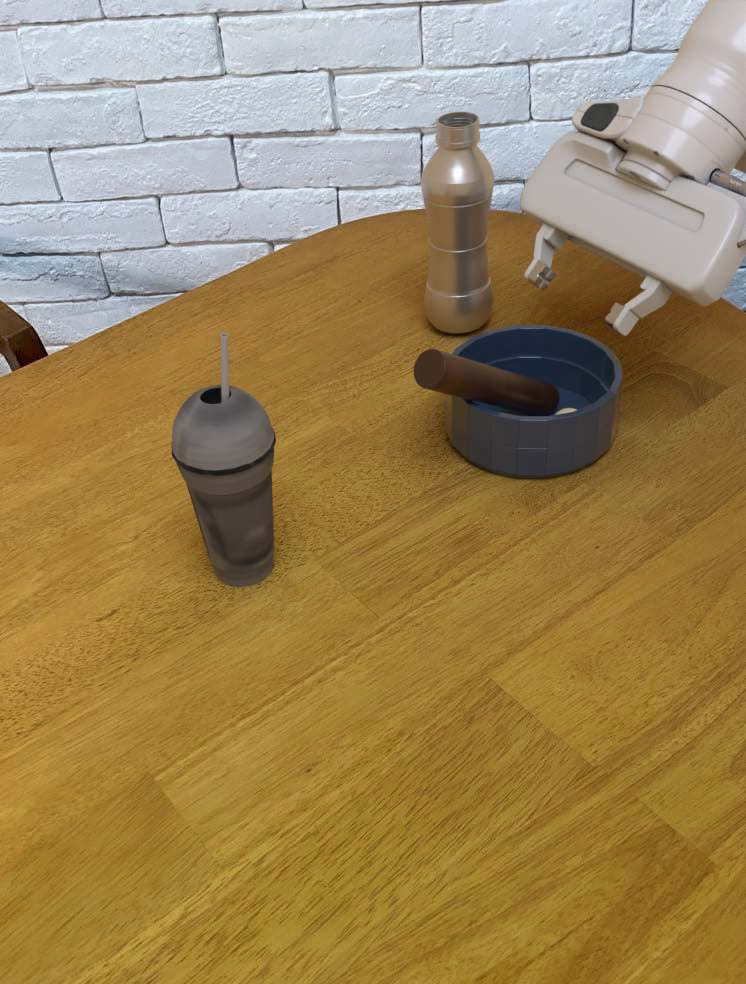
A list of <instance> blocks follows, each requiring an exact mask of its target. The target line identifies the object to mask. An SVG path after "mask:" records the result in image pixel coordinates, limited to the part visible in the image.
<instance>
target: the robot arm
mask: <svg viewBox="0 0 746 984" xmlns="http://www.w3.org/2000/svg"><path fill="white" fill-rule="evenodd" d="M571 124H572V125H573V127H574V128H575V129H576V130H571V131H569V132H567V133H565V134H563V135H561V136H559V138H558V139H557V140H555V142H554V143H553V144H552V145H551V146H550V147H549V149H548V150H547V152H546V153H545V154H544V156H543V157H542V158H541V160H540V161H539V163H538V165H537V166H536V167H535V169H534V170H533V172H532V173H531V175H530V177H528V179H527V181H526V183H525V184H524V186H523V188H522V190H521V193H520V197H519V208H520V211H521V212H523V213H524V215H526V216H527V217H528V218H529V219H530V220H531V221H532V222H534V223H535V224H536V225H538V226H539V227H540V228H539V230H538V231H537V233H536V235H535V242H534V248H533V257H532V259H533V260H532V261H531V263H530V264H529V266H528V267H527V268H526V270H525V272H524V273H523V279H524V280H525V281H526V282H527V283H529V284H530V285H532V286H534V287H535V288H538V289H540V290H541V291H545V290H547V289H548V287H550V282H552V281H553V280H554V278H555V276H557V272H555V271H554V270H553V269H552V264H553V259H554V256H555V251H556V250H557V251H562V249H563V248H564V246H565V245H566V243H567V242H568V241H569V242H570V243H573V244H575V245H577V246H579V247H581V248H583V249H585V250H587V251H589V252H591V253H593V254H595V255H597V256H599V257H600V258H603V259H604V260H607V261H609V262H611V263H613V264H615V265H617V266H619V267H621V268H623V269H625V270H627V271H629V272H631V273H633V274H634V275H637V276H639V277H640V278H642V279H643V281H642V283H640V285H639V288H640V289H641V290H642V292H640V293H639V294H637V295H636V296H635V297H633V298H631V299H630V300H629V301H628V302H627V303H625V304H621V303H619V302H617V301H615V303H613V306H612V307H611V309H610V312H608V313H607V314H606V315H605V317H604V324H605V325H606V326H607V327H608V328H610V329H611V330H613V331H615V332H616V333H618V334H620V335H622V336H624V337H626V336H628V335H629V334H630V333H631V331H632V330H633V329H634V327H635V326H636V325H637V323H638V321H639V320H640V319H643V318H644V317H646V316H648V315H650V314H651V313H653V312H655V311H656V310H659V309H661V308H662V307H664V306H665V304H666V303H667V302H668V300H669V299H670V298H671V296H672V295H673V294H674V295H677V296H679V297H680V298H683V299H685V300H687V301H689V302H691V303H692V304H694V305H697V306H699V307H700V308H701V307H702V308H705V307H707V306H710V305H712V304H713V303H716V302H717V301H719V300H720V299H721V298H722V297H723V295H724V294H725V293H726V291H727V289H728V288H729V286H730V284H731V283H732V281H733V279H734V277H735V276H736V274H737V272H738V270H739V269H740V267H741V265H742V263H743V261H744V259H745V257H746V181H745V180H742V179H740V178H739V177H737V176H735V175H733V174H731V173H732V172H733V170H736V171H738V172H741V173H743V174H745V175H746V0H707V2H706V3H705V5H704V6H703V8H701V10H700V12H699V13H698V14H697V16H696V18H695V19H694V21H693V22H692V23H691V25H690V27H689V28H688V29H687V31H686V33H685V35H684V36H683V38H682V40H681V43H680V45H679V48H678V52H677V54H676V56H675V58H674V60H673V62H672V64H670V66H669V67H668V68H667V70H666V71H665V72H664V73H663V74H662V75H661V76H659V77H658V78H657V79H656V80H655V81H654V82H653V84H652V85H650V87H649V89H648V91H647V92H646V93H645V95H644V96H643V97H633V98H627V99H618V100H615V99H614V100H591V101H585V102H582V104H580V105H579V106H578V107H577V109H576V110H575V112H574V114H573V116H572V118H571Z"/></svg>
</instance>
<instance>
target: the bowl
mask: <svg viewBox="0 0 746 984" xmlns="http://www.w3.org/2000/svg"><path fill="white" fill-rule="evenodd" d="M451 354H453V355H457V356H460V357H463V358H467V359H470V360H473V361H477V362H480V363H483V364H487V365H490V366H494V367H497V368H500V369H504V370H507V371H510V372H514V373H517V374H521V375H524V376H527V377H531V378H534V379H537V380H541V381H544V382H548V383H551V384H553V385H554V386H555V387H556V388H557V390H558V393H559V404H558V407H557V409H556V410H555V411H554V412H553V413H552V414H551V415H550V416H532V415H528V414H524V413H520V412H516V411H512V410H508V409H504V408H500V407H496V406H492V405H488V404H484V403H480V402H476V401H472V400H468V399H464V398H460V397H456V396H452V395H448V394H444V431H445V433H446V436H447V437H448V439H449V441H450V444H451V446H453V447H454V448H455V450H456V451H457V452H458V453H459V454H460V455H461V456H462V457H463V458H464V459H465V460H467V461H468V462H470V463H471V464H473V465H474V466H476V467H478V468H480V469H482V470H485V471H487V472H490V473H493V474H496V475H500V476H504V477H509V478H514V479H515V478H516V479H526V480H528V479H529V480H530V479H531V480H536V479H538V480H540V479H551V478H557V477H561V476H566V475H569V474H573V473H575V472H578V471H581V470H583V469H584V468H586V467H588V466H590V465H592V464H594V463H595V462H596V461H597V460H598V459H600V458H601V457H602V455H603V454H605V453H606V452H607V451H608V450H609V449H611V448H610V447H611V446H612V444H613V442H614V439H615V437H616V435H617V432H618V425H619V415H620V408H621V407H620V405H621V397H622V388H623V380H624V376H623V370H622V363H621V361H620V360H619V358H618V357H617V356H616V354H615V353H614V352H613V350H612V349H611V348H609V347H608V346H607V345H606V344H604V343H602V342H601V341H599V340H597V339H596V338H594V337H593V336H590V335H587V334H584V333H583V332H580V331H579V332H578V331H576V330H575V329H570V328H565V327H559V326H552V325H547V324H519V325H518V324H517V325H511V326H504V327H497V328H494V329H490V330H488V331H485V332H482V333H480V334H476V335H474V336H472V337H470V338H469V339H467V340H466V341H464V342H463V343H461V344H460V345H459V346H457V347H456V348H454V350H453V351H452V353H451ZM565 408H574V409H577V410H576V411H574V412H569V413H563V414H557V415H555V414H556V413H557V412H558V411H560V410H562V409H565Z"/></svg>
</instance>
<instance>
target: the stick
mask: <svg viewBox="0 0 746 984" xmlns="http://www.w3.org/2000/svg"><path fill="white" fill-rule="evenodd" d="M413 377H414V380H415V383H416V384H417V385H418V386H419V387H421V388H422V389H425V390H429V391H433V392H436V393H440V394H443V395H445V394H448V395H452V396H456V397H460V398H464V399H468V400H472V401H476V402H480V403H484V404H488V405H492V406H496V407H500V408H504V409H508V410H512V411H516V412H520V413H524V414H528V415H532V416H550V415H551V414H552V413H553V412H554V411H555V410H556V409H557V407H558V404H559V393H558V390H557V388H556V387H555V386H554V385H553V384H551V383H548V382H544V381H541V380H537V379H534V378H531V377H527V376H524V375H521V374H517V373H514V372H510V371H507V370H504V369H500V368H497V367H494V366H490V365H487V364H483V363H480V362H477V361H473V360H470V359H467V358H463V357H460V356H457V355H453V354H452V353H449V352H447V351H443V350H441V349H436V348H428V349H425V350H423V352H421V353H420V354H419V355H418V357H417V358H416V360H415V362H414V365H413Z"/></svg>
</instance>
